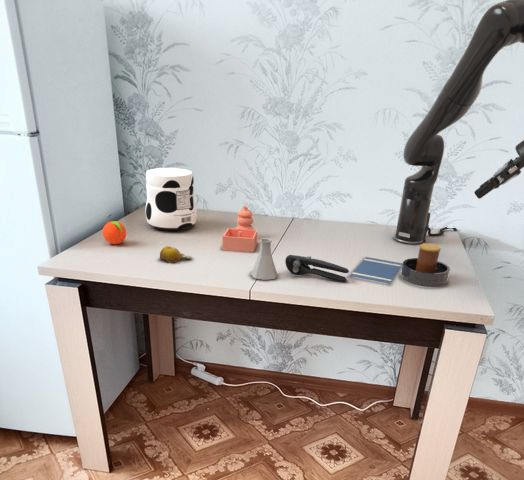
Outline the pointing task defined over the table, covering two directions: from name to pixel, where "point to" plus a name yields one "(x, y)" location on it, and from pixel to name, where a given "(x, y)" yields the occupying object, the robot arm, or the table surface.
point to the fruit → (171, 254)
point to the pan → (424, 274)
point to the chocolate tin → (427, 258)
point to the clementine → (114, 232)
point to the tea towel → (376, 270)
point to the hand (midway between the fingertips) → (479, 192)
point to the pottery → (241, 233)
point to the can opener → (300, 267)
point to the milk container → (170, 198)
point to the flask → (264, 262)
